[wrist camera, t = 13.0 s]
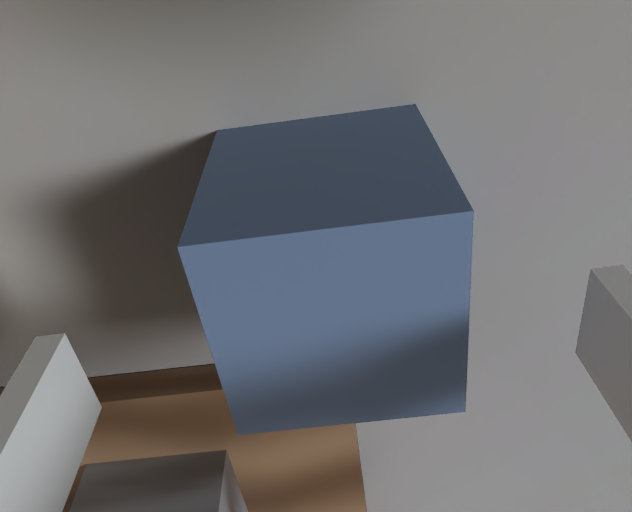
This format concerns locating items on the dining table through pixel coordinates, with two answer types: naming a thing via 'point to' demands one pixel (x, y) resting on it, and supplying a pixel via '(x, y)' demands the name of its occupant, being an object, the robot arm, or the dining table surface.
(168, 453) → the board
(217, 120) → the dining table surface
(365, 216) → the slate blue brick
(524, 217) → the dining table surface
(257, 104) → the dining table surface
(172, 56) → the dining table surface
